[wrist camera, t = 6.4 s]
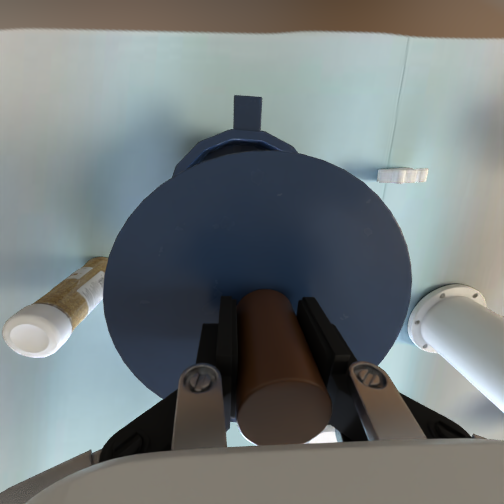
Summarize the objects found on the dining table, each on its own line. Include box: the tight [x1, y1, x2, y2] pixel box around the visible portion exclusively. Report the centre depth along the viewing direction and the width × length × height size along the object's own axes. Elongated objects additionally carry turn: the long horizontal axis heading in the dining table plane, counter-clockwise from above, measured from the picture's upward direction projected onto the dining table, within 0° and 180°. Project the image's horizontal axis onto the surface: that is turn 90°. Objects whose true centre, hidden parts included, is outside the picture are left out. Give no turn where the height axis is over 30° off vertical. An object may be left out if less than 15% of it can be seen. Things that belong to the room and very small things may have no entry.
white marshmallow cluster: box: [377, 168, 428, 184], centre depth 30 cm, size 5×1×4 cm, turn 93°
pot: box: [172, 95, 298, 177], centre depth 28 cm, size 15×20×8 cm
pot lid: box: [103, 151, 412, 446], centre depth 11 cm, size 16×16×7 cm
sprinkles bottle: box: [2, 257, 108, 358], centre depth 27 cm, size 5×5×14 cm
